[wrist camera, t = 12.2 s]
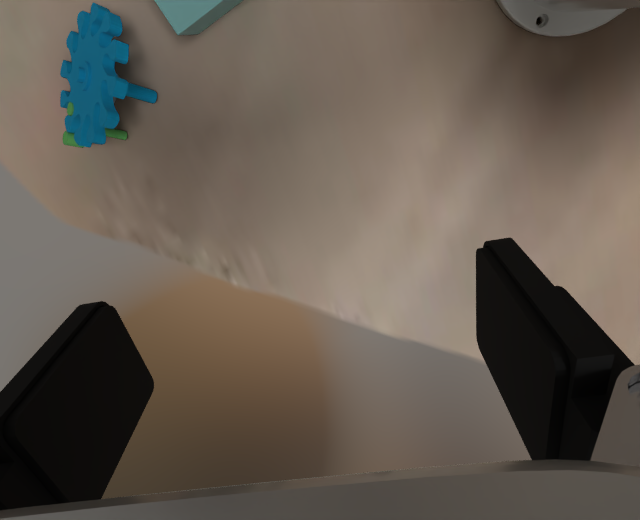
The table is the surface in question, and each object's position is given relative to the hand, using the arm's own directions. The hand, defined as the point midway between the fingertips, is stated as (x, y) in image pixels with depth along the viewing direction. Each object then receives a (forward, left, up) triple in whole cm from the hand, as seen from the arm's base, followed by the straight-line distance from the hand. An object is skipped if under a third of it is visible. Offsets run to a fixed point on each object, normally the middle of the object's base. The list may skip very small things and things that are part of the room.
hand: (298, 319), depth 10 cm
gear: (+16, -7, -28) cm, 33 cm away
